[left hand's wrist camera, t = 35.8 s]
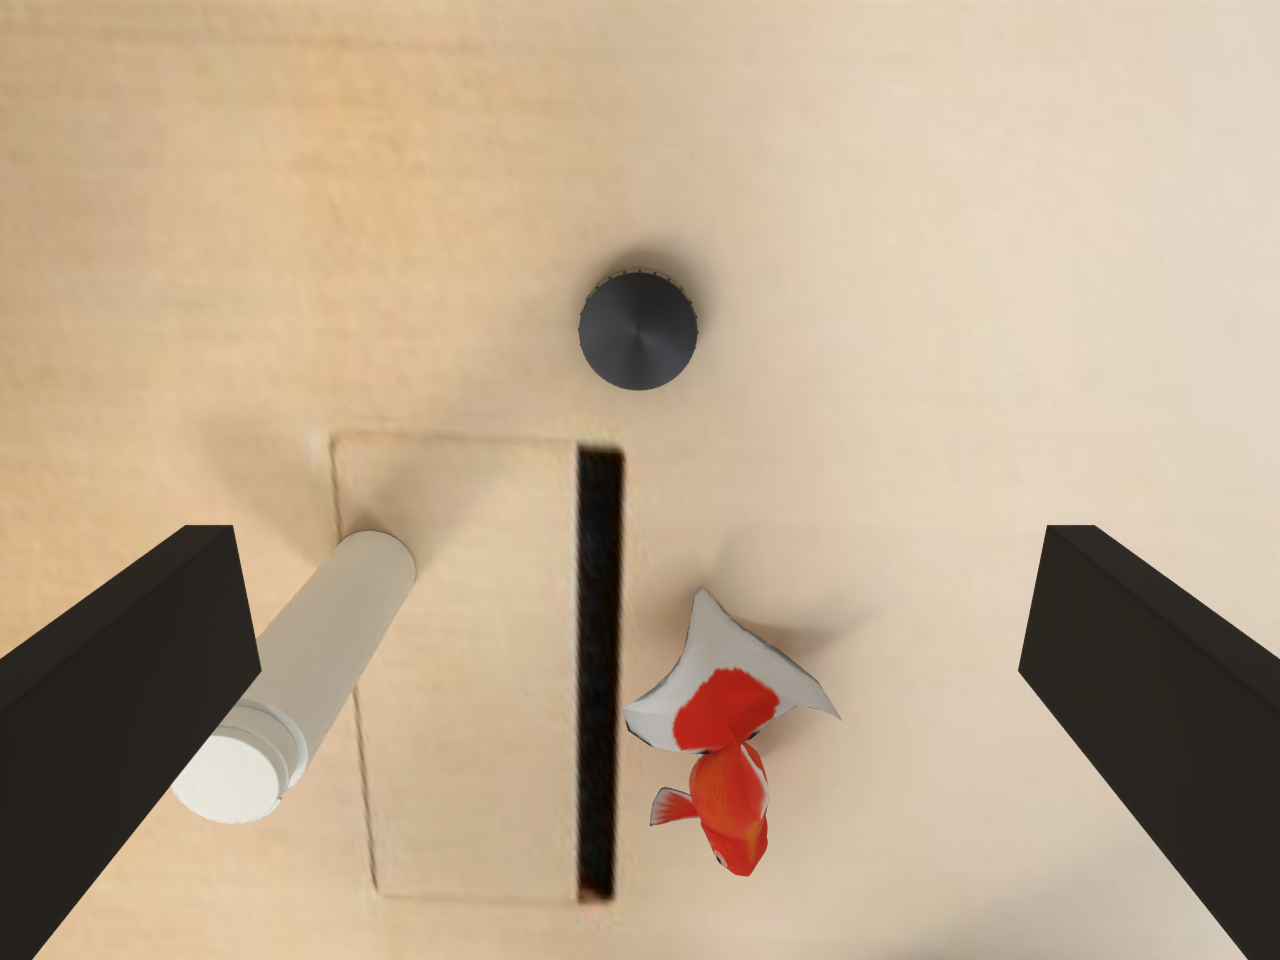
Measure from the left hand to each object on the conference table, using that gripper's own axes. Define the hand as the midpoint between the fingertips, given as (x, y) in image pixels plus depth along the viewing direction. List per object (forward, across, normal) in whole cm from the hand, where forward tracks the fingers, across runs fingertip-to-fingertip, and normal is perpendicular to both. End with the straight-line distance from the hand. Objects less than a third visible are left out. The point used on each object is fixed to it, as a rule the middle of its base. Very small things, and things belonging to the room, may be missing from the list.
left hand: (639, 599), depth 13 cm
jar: (+27, +15, +13) cm, 34 cm away
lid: (+26, 0, 0) cm, 26 cm away
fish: (+27, -4, +21) cm, 35 cm away
